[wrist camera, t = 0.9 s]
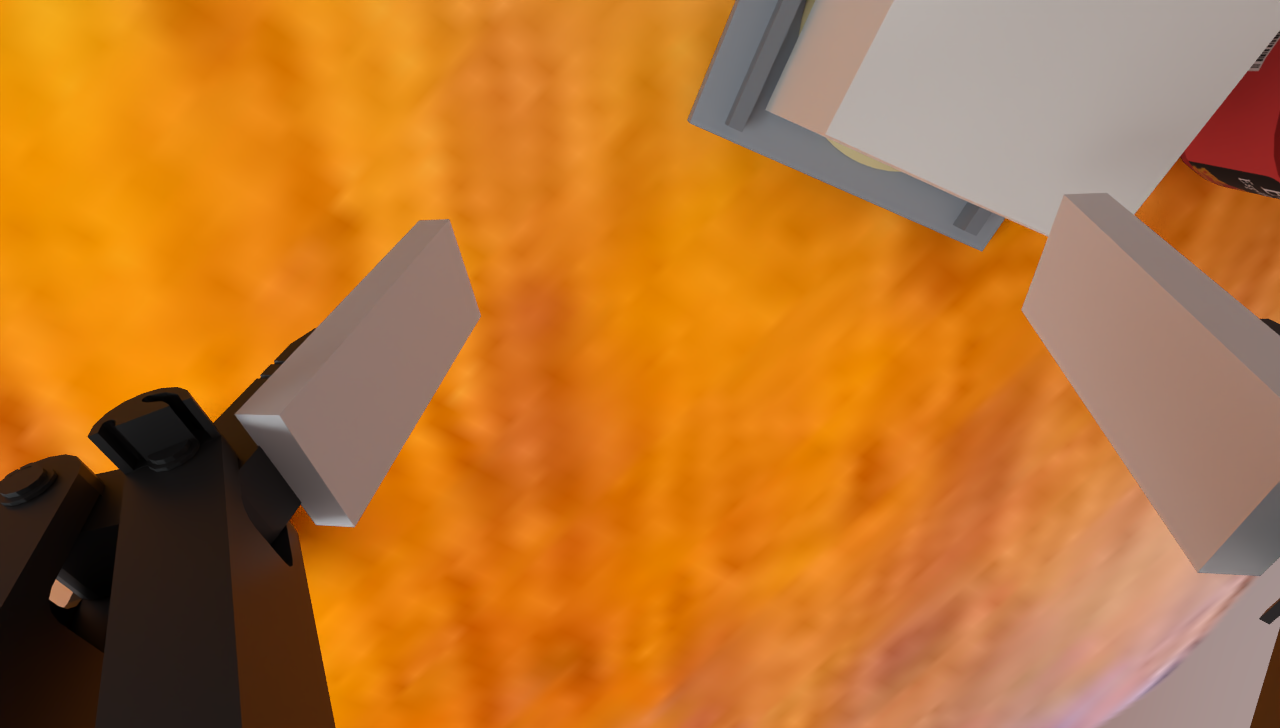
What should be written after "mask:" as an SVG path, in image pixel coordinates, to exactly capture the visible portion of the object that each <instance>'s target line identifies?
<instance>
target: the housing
mask: <svg viewBox="0 0 1280 728" xmlns="http://www.w3.org/2000/svg"><path fill="white" fill-rule="evenodd" d="M1279 31H1280V0H815V2H814V4H813V7H812V9H811V11H810V13H809V15H808V18H807V20H806V22H805V24H804V26H803V28H802V31H801V33H800V35H799V37H798V39H797V41H796V44H795V46H794V48H793V50H792V52H791V55H790V57H789V59H788V61H787V63H786V65H785V68H784V70H783V72H782V74H781V76H780V78H779V81H778V83H777V85H776V87H775V89H774V92H773V94H772V96H771V98H770V100H769V102H768V105H767V107H766V109H765V110H766V111H769V112H771V113H773V114H775V115H777V116H780V117H782V118H784V119H786V120H788V121H791V122H793V123H795V124H797V125H799V126H802V127H804V128H806V129H808V130H810V131H813V132H815V133H817V134H819V135H821V136H824V137H826V138H828V139H830V140H832V141H835V142H837V143H839V144H841V145H843V146H846V147H848V148H850V149H852V150H854V151H857V152H859V153H861V154H863V155H865V156H868V157H870V158H872V159H874V160H876V161H879V162H881V163H883V164H885V165H887V166H890V167H892V168H894V169H896V170H899V171H901V172H903V173H905V174H907V175H910V176H912V177H914V178H916V179H918V180H921V181H923V182H925V183H927V184H929V185H932V186H934V187H936V188H938V189H940V190H943V191H945V192H947V193H949V194H951V195H954V196H956V197H958V198H960V199H963V200H965V201H967V202H969V203H972V204H974V205H976V206H979V207H981V208H983V209H986V210H988V211H990V212H992V213H995V214H997V215H999V216H1002V217H1004V218H1006V219H1009V220H1011V221H1013V222H1016V223H1018V224H1020V225H1022V226H1025V227H1027V228H1029V229H1032V230H1034V231H1036V232H1039V233H1041V234H1043V235H1045V236H1049V234H1050V231H1051V228H1052V226H1053V223H1054V220H1055V217H1056V215H1057V212H1058V209H1059V207H1060V204H1061V201H1062V198H1063V196H1064V194H1087V193H1108V194H1109V195H1110V196H1112V197H1113V198H1114V199H1115V200H1116V201H1118V202H1119V203H1120V204H1121V205H1122V206H1124V207H1125V208H1126V209H1127V210H1128V211H1130V212H1131V213H1132V214H1133V215H1134V214H1135V213H1136V211H1137V210H1138V209H1139V208H1140V206H1141V205H1142V204H1143V203H1144V201H1145V200H1146V199H1147V198H1148V196H1149V195H1150V194H1151V193H1152V191H1153V190H1154V189H1155V187H1156V186H1157V185H1158V184H1159V182H1160V181H1161V180H1162V179H1163V177H1164V176H1165V175H1166V174H1167V172H1168V171H1169V170H1170V169H1171V167H1172V166H1173V165H1174V163H1175V162H1176V161H1177V160H1178V158H1179V157H1180V156H1181V155H1182V153H1183V152H1184V151H1185V150H1186V148H1187V147H1188V146H1189V145H1190V143H1191V142H1192V141H1193V139H1194V138H1195V137H1196V136H1197V134H1198V133H1199V132H1200V131H1201V129H1202V128H1203V127H1204V126H1205V124H1206V123H1207V122H1208V120H1209V119H1210V118H1211V117H1212V115H1213V114H1214V113H1215V112H1216V110H1217V109H1218V108H1219V107H1220V105H1221V104H1222V103H1223V102H1224V100H1225V99H1226V98H1227V96H1228V95H1229V94H1230V93H1231V91H1232V90H1233V89H1234V88H1235V86H1236V85H1237V84H1238V83H1239V81H1240V80H1241V79H1242V78H1243V76H1244V75H1245V74H1246V72H1247V71H1248V70H1249V69H1250V67H1251V66H1252V65H1253V64H1254V62H1255V61H1256V60H1257V59H1258V57H1259V56H1260V55H1261V54H1262V52H1263V51H1264V50H1265V48H1266V47H1267V46H1268V45H1269V43H1270V42H1271V41H1272V40H1273V38H1274V37H1275V36H1276V35H1277V33H1278V32H1279Z"/></svg>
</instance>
